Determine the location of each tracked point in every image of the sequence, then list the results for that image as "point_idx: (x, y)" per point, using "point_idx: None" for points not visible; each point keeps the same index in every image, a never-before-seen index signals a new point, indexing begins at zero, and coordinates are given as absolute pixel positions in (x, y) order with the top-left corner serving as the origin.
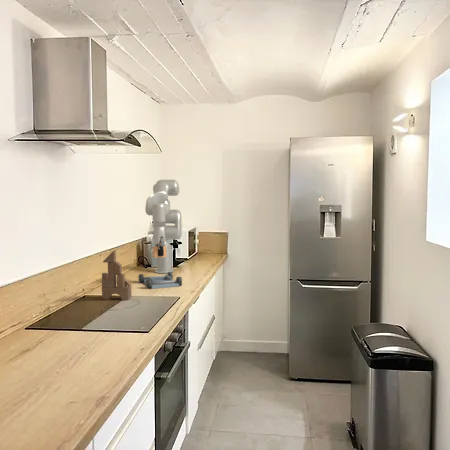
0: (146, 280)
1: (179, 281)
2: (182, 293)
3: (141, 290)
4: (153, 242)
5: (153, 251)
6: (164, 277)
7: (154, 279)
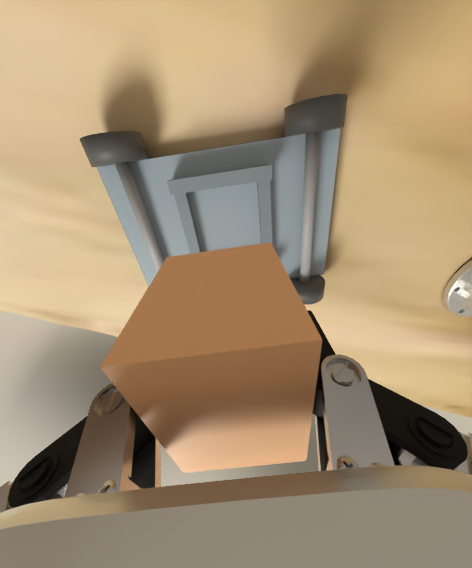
0: (114, 132)
1: None
2: (18, 283)
3: (54, 88)
4: (407, 510)
5: (228, 286)
6: None
7: (259, 206)
